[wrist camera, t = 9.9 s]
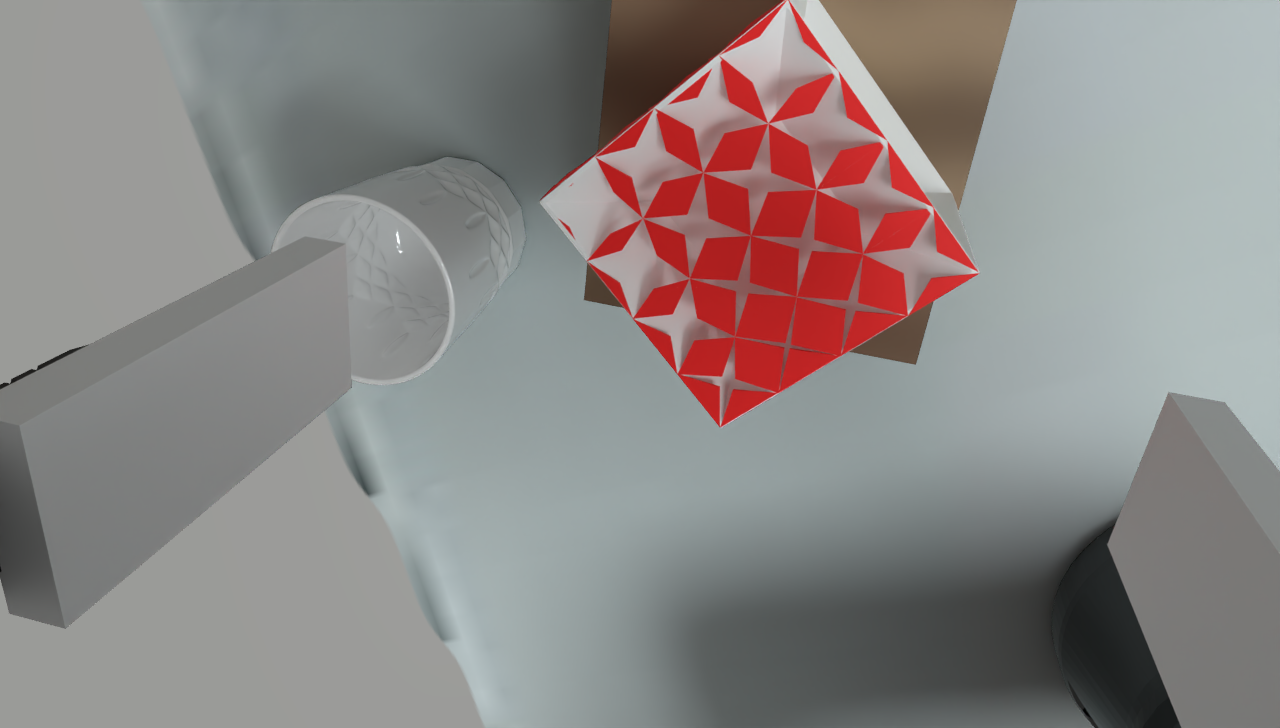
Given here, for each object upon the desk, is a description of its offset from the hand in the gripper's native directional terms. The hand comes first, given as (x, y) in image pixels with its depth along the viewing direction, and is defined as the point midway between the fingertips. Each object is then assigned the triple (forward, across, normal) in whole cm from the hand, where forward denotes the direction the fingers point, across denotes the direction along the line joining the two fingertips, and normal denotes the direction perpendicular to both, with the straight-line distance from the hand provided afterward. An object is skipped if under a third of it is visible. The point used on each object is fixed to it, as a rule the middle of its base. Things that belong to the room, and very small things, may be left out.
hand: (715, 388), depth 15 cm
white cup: (+27, +16, +7) cm, 32 cm away
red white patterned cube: (+17, 0, 0) cm, 17 cm away
